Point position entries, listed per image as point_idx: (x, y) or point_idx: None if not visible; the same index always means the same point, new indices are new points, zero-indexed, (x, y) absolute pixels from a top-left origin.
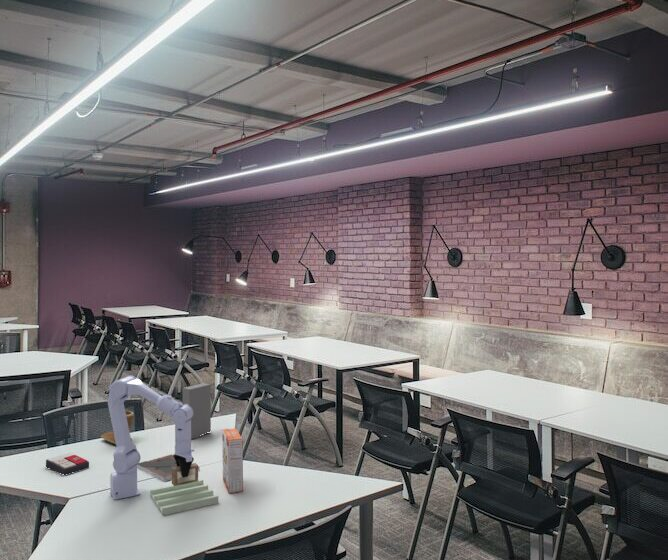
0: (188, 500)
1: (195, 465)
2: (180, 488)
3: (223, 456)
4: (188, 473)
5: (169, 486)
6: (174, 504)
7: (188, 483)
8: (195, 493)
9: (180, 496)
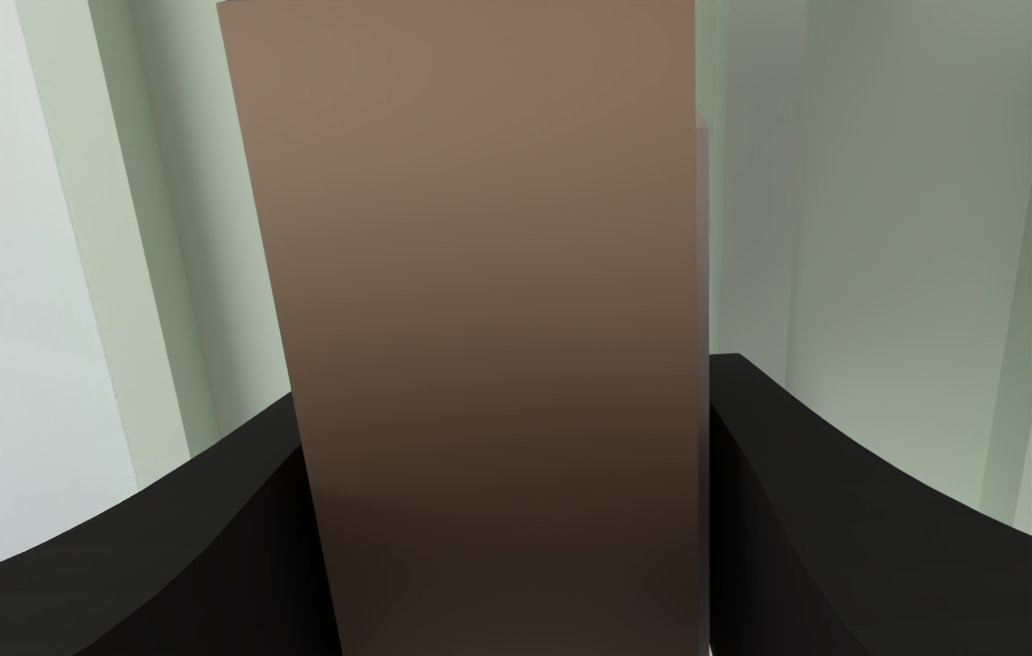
0: (800, 189)
1: (628, 114)
2: (168, 195)
3: None
4: (781, 393)
5: (152, 418)
6: (1021, 519)
7: (95, 32)
8: (754, 35)
9: (732, 352)
